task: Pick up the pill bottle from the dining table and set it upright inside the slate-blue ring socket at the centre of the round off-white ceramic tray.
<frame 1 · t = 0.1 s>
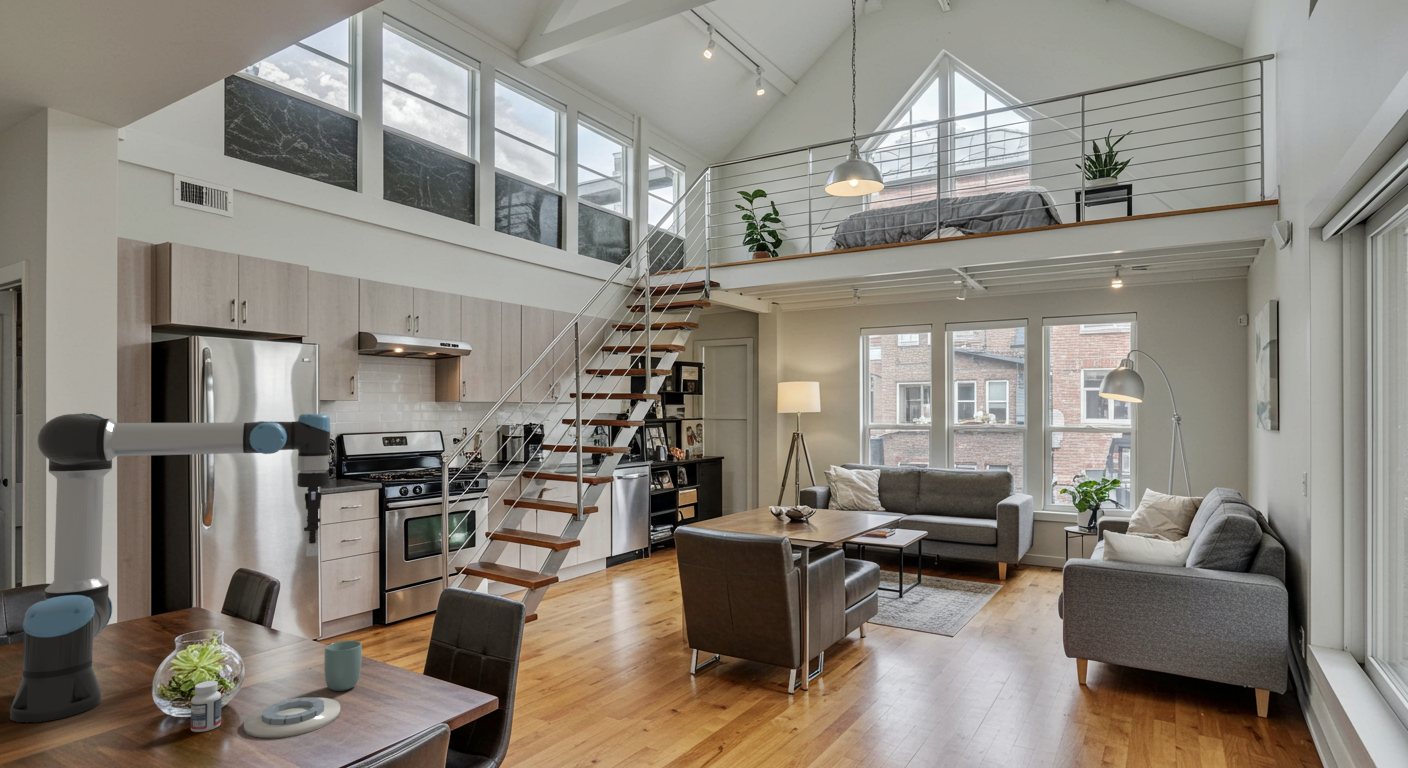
hand: (312, 551, 200), 28 cm above the table, fingers open, 13 cm apart
cup: (342, 688, 177), on the table
tray: (293, 719, 159), on the table
pill bottle: (205, 728, 155), on the table
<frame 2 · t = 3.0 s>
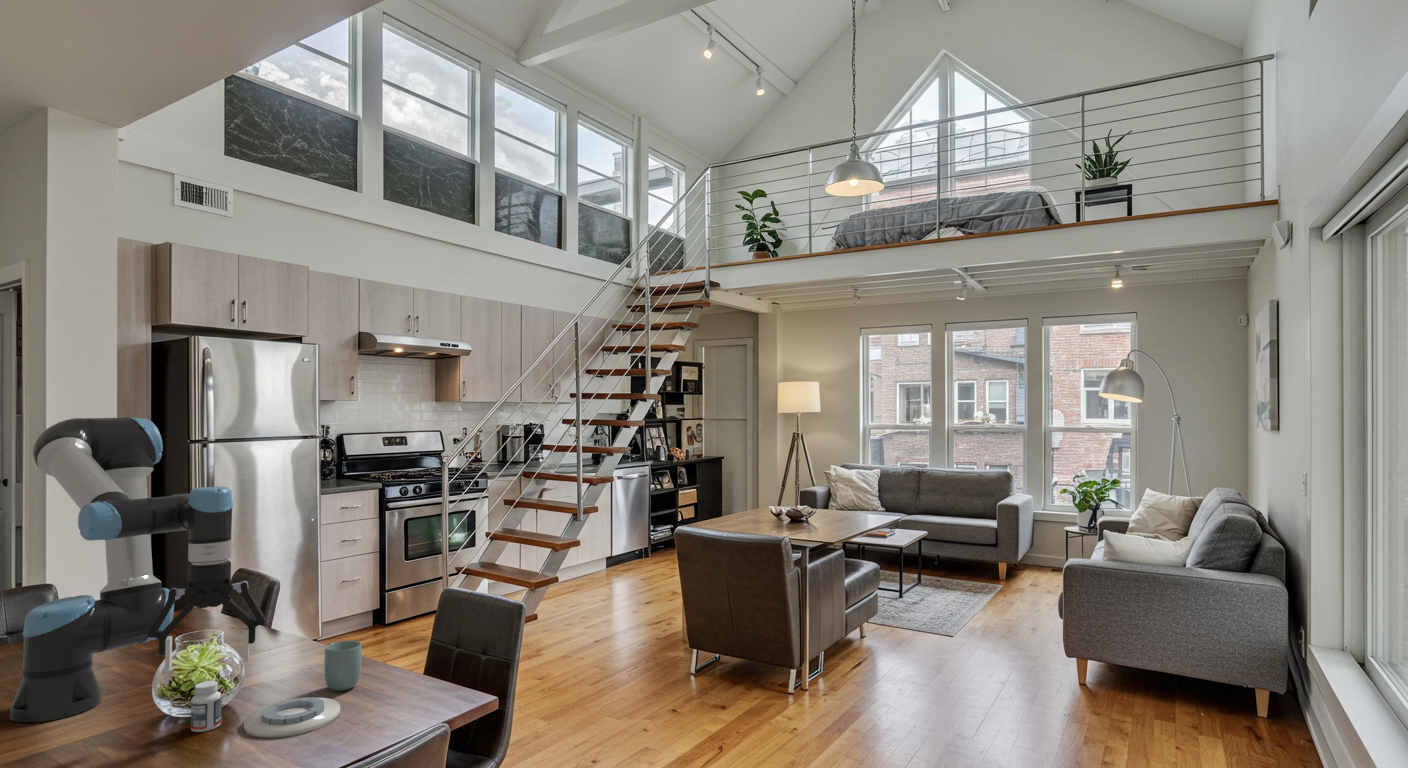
hand: (208, 664, 155), 13 cm above the table, fingers open, 13 cm apart
nothing on the table moved.
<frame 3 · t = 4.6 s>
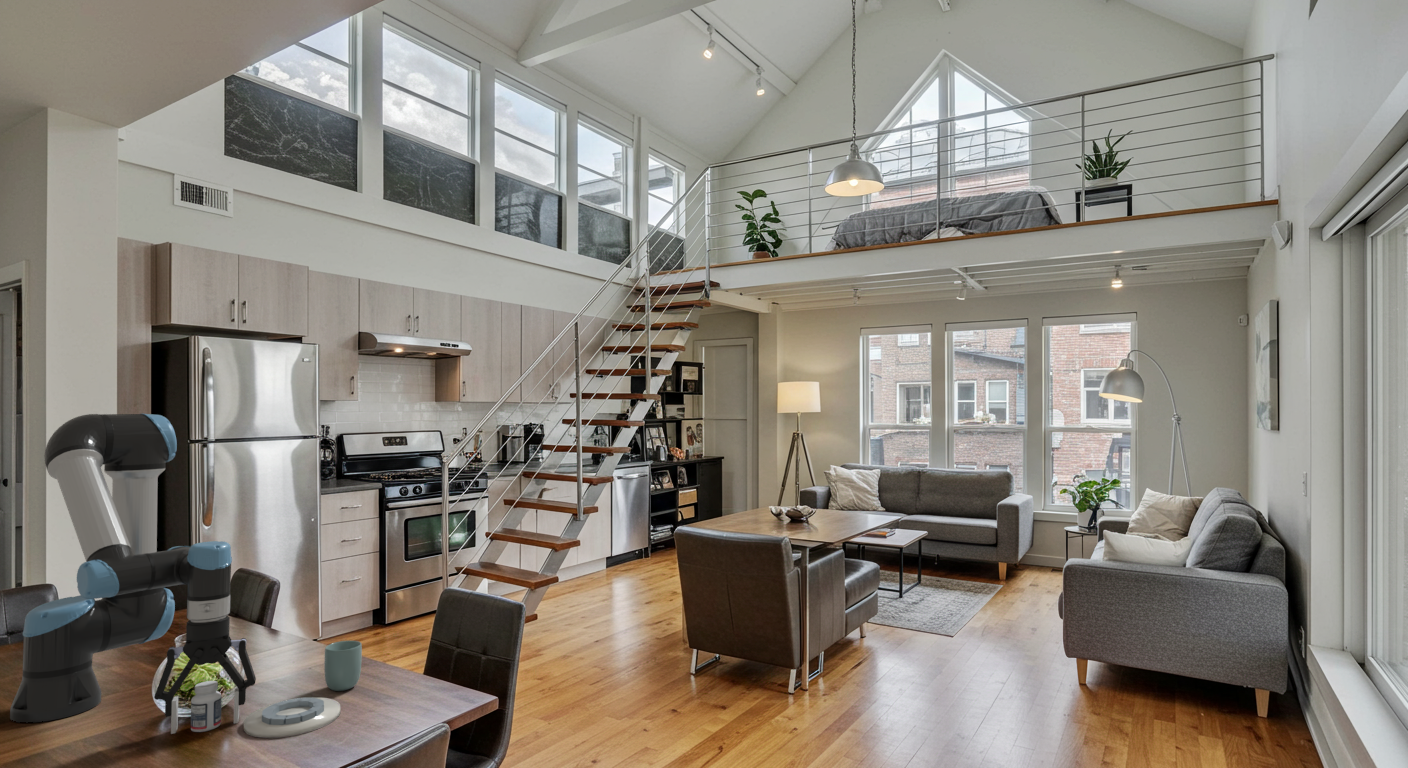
hand: (205, 725, 155), 0 cm above the table, fingers open, 10 cm apart
nothing on the table moved.
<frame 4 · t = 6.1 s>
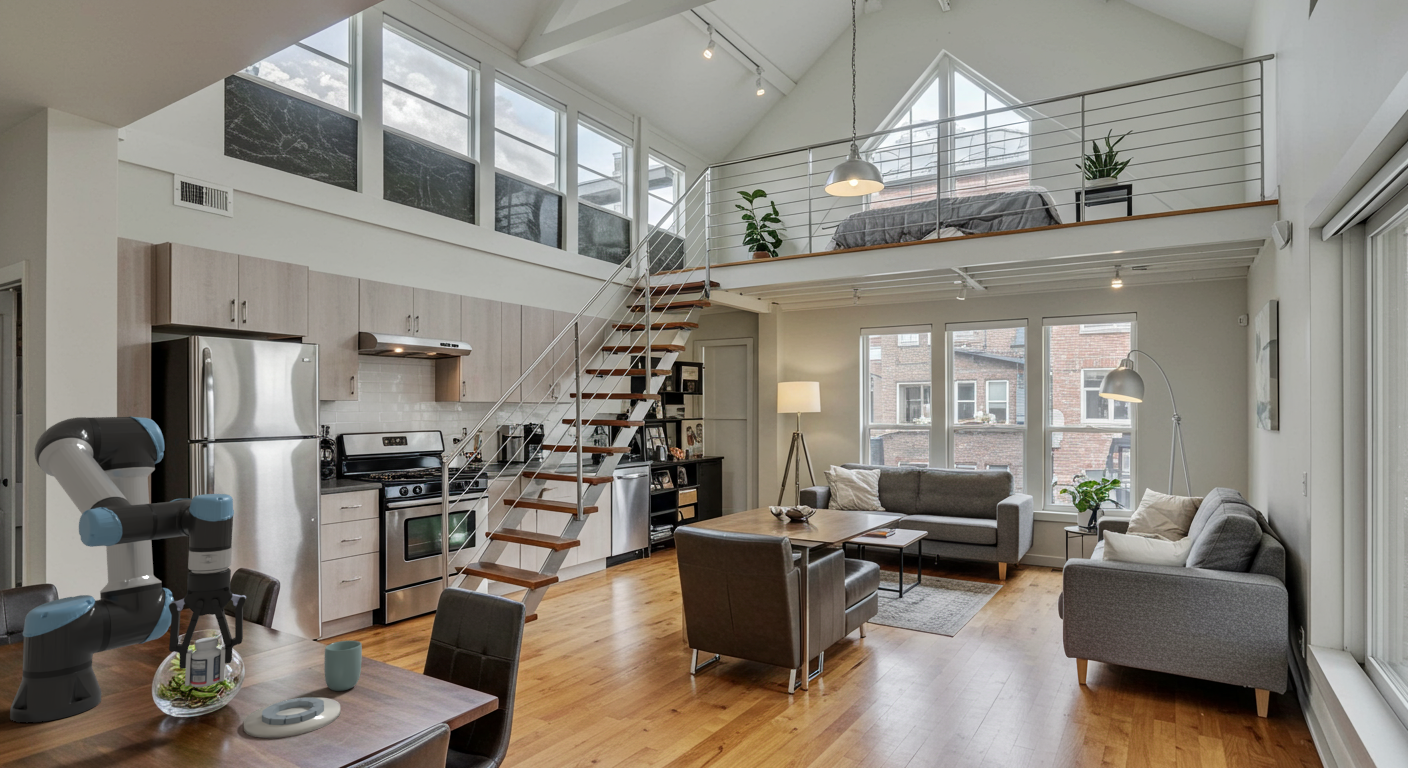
hand: (205, 680, 156), 9 cm above the table, fingers closed on pill bottle, 5 cm apart
pill bottle: (205, 683, 156), point 9 cm above the table, touching gripper
everything else where it was.
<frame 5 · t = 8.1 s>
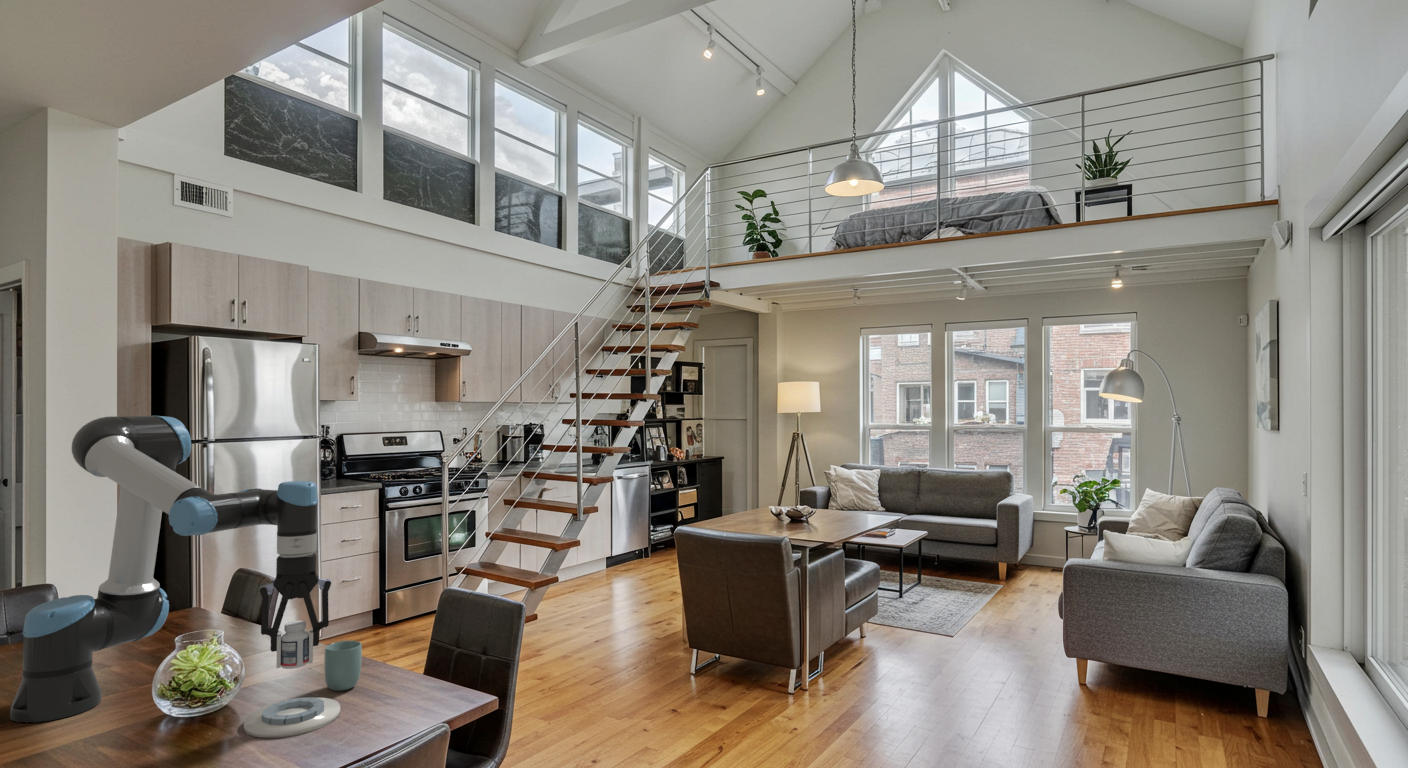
hand: (294, 663, 159), 12 cm above the table, fingers closed on pill bottle, 5 cm apart
pill bottle: (294, 666, 159), point 11 cm above the table, touching gripper
everything else where it was.
when the fingers open (3 cm above the table, at t = 10.3 s): pill bottle drops 1 cm, resting on tray.
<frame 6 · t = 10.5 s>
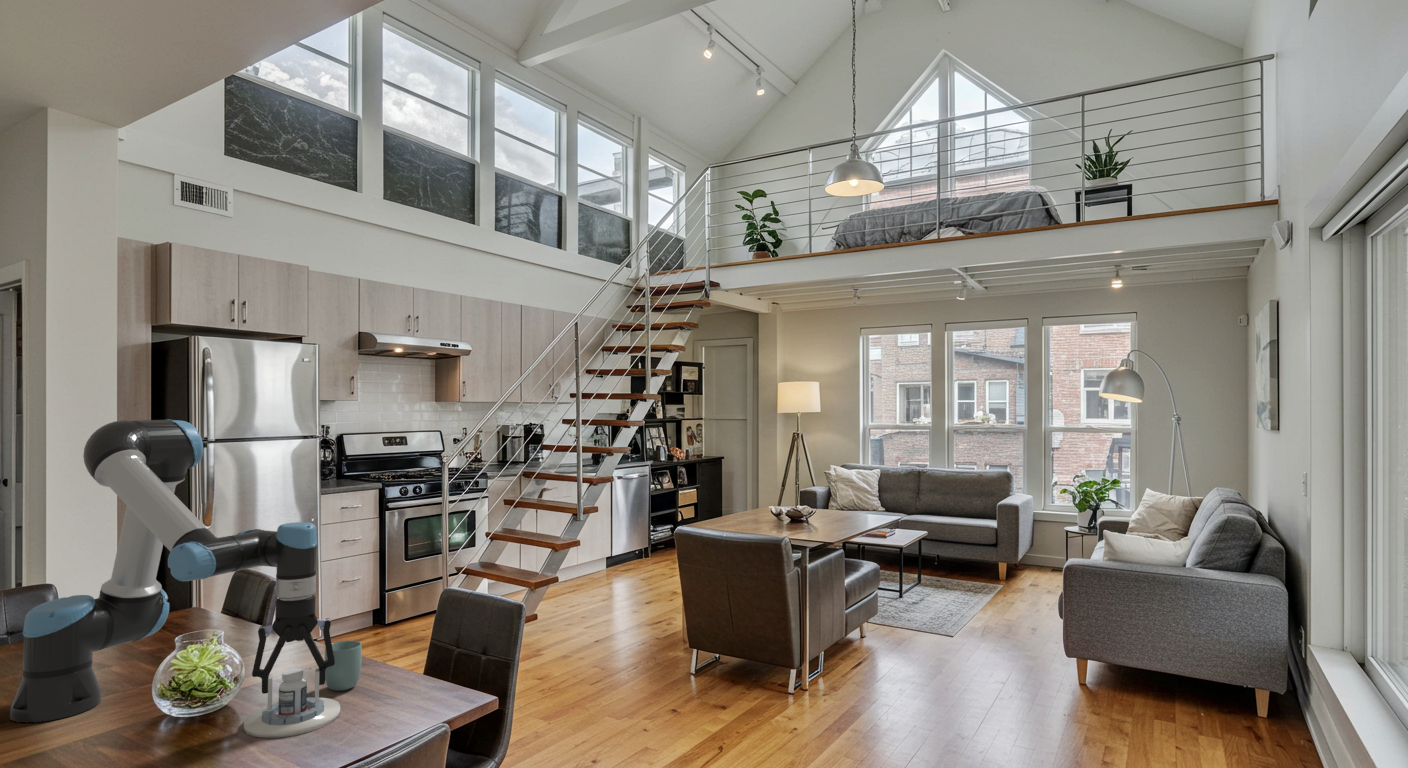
hand: (293, 703, 159), 3 cm above the table, fingers open, 8 cm apart
pill bottle: (292, 714, 159), point 1 cm above the table, touching tray
everything else where it was.
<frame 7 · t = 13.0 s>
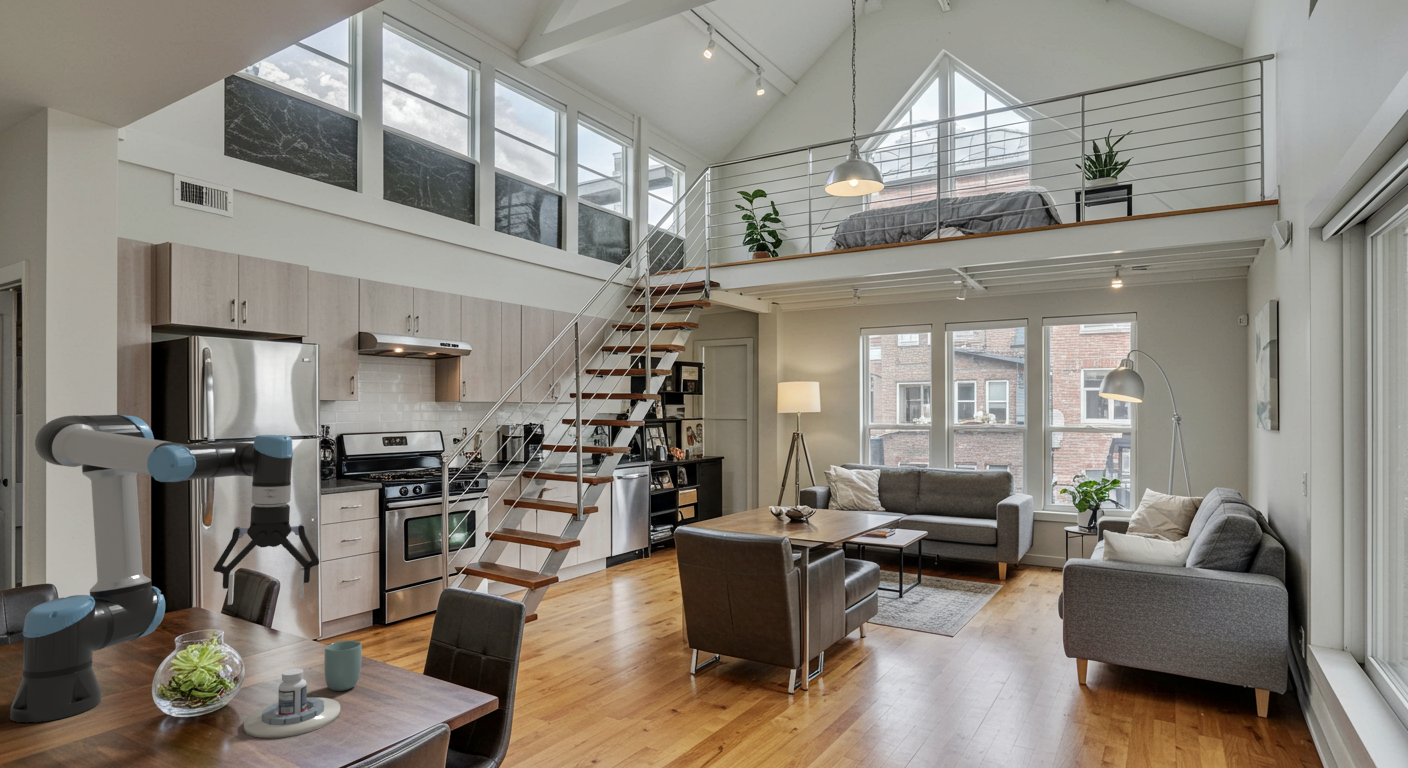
hand: (266, 600, 166), 23 cm above the table, fingers open, 13 cm apart
nothing on the table moved.
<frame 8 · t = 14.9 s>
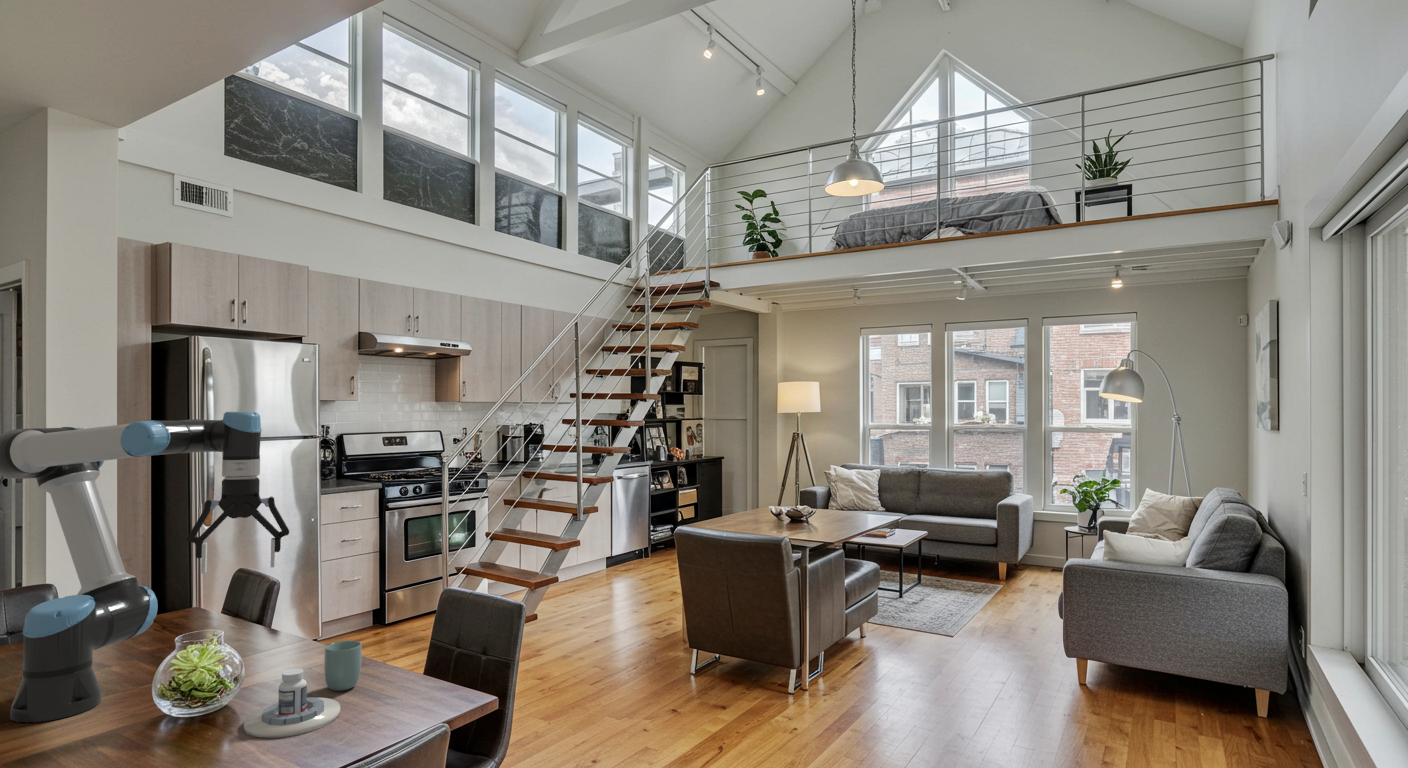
hand: (238, 569, 174), 29 cm above the table, fingers open, 13 cm apart
nothing on the table moved.
at the end: pill bottle 0.2 cm off-centre on the tray, point 1.0 cm above the tray's base; pill bottle tilted 0°; the gripper is holding nothing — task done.
